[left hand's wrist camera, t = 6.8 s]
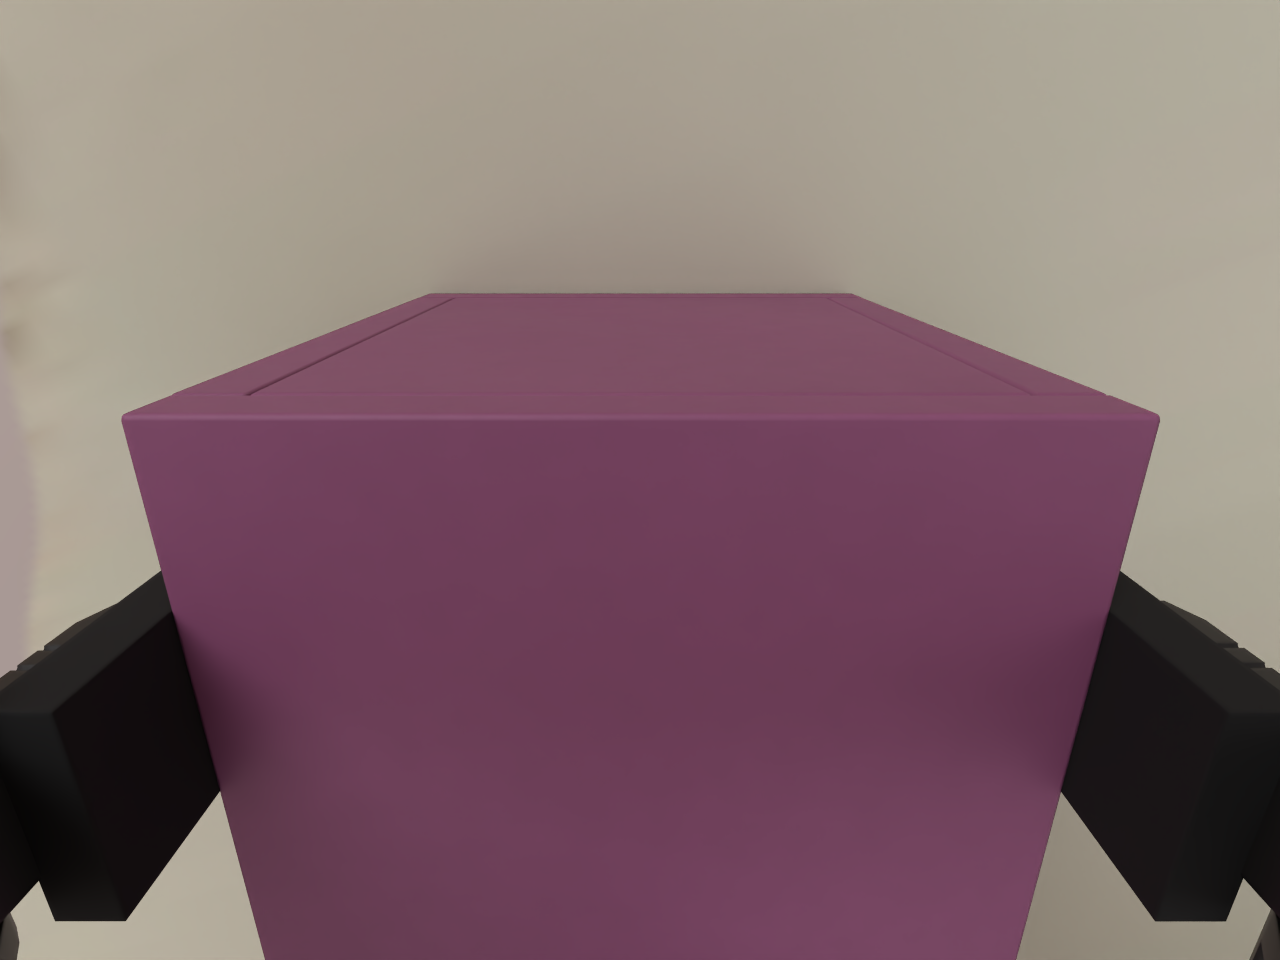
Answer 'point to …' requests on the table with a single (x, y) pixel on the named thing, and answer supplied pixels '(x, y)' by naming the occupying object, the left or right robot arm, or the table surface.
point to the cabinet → (640, 625)
